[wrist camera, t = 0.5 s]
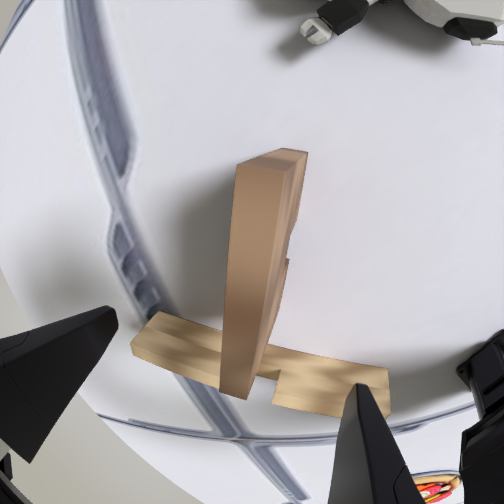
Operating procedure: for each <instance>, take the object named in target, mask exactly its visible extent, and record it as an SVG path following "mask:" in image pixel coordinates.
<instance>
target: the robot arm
mask: <svg viewBox="0 0 504 504" xmlns="http://www.w3.org/2000/svg"><path fill="white" fill-rule="evenodd" d="M118 325H119V324H118V319H117V315H116V311H115V309H114V308H112V307H110V306H107V305H105V306H102V307H99V308H96V309H93V310H90V311H87V312H84V313H81V314H78V315H75V316H72V317H69V318H66V319H63V320H60V321H57V322H54V323H51V324H48V325H45V326H42V327H38V328H35V329H32V330H31V331H26V332H23V333H20V334H17V335H13V336H9V337H6V338H1V339H0V504H32V503H31V502H30V501H29V500H28V499H27V498H26V497H25V496H24V495H23V494H22V493H21V492H20V491H19V490H18V489H17V488H16V487H15V486H14V485H13V484H12V483H11V482H10V481H11V479H12V478H13V476H12V467H11V457H10V454H9V453H8V451H9V450H10V449H12V450H14V451H15V452H16V453H17V454H18V455H19V456H21V457H22V458H23V459H24V460H26V461H27V462H28V463H29V464H30V463H31V462H32V460H33V458H34V457H35V455H36V453H37V452H38V450H39V449H40V447H41V445H42V444H43V442H44V441H45V439H46V437H47V436H48V434H49V433H50V431H51V429H52V428H53V426H54V425H55V423H56V422H57V420H58V419H59V417H60V416H61V414H62V413H63V411H64V409H65V408H66V407H67V405H68V404H69V402H70V401H71V399H72V398H73V397H74V395H75V394H76V392H77V391H78V389H79V388H80V387H81V385H82V384H83V382H84V381H85V379H86V378H87V377H88V375H89V374H90V372H91V371H92V370H93V368H94V367H95V366H96V364H97V363H98V361H99V360H100V358H101V357H102V355H103V354H104V352H105V350H106V348H107V347H108V345H109V343H110V342H111V340H112V338H113V337H114V335H115V333H116V332H117V330H118ZM456 372H457V375H458V376H459V377H460V378H461V379H462V380H463V381H464V382H465V384H466V385H467V386H468V387H469V388H470V389H471V390H472V393H473V397H474V401H475V404H476V408H477V412H478V416H479V420H480V421H479V422H477V423H476V424H475V425H473V426H472V427H470V428H469V429H466V430H465V431H463V432H462V441H461V455H460V464H459V474H460V476H461V479H462V482H463V486H464V504H504V331H502V332H501V333H500V334H499V335H498V336H497V337H496V338H494V339H493V340H492V341H491V342H490V343H489V344H487V345H486V346H485V347H484V348H482V349H481V350H480V351H479V352H477V353H476V354H475V355H474V356H472V357H471V358H470V359H468V360H467V361H466V362H464V363H463V364H462V365H460V366H459V367H458V368H457V369H456ZM405 464H406V463H405V461H404V459H403V457H402V454H401V452H400V450H399V448H398V446H397V444H396V442H395V439H394V437H393V435H392V433H391V431H390V429H389V427H388V425H387V423H386V421H385V419H384V417H383V415H382V413H381V410H380V408H379V406H378V404H377V402H376V400H375V398H374V396H373V394H372V392H371V390H370V389H369V387H368V385H367V384H363V383H355V384H354V385H353V387H352V389H351V390H350V392H349V394H348V395H347V397H346V400H345V404H344V409H343V414H342V419H341V423H340V428H339V432H338V437H337V442H336V450H335V459H334V466H333V473H332V480H331V487H330V493H329V499H328V504H427V503H426V502H425V500H424V498H423V497H422V495H421V493H420V491H419V490H418V488H417V486H416V484H415V482H414V480H413V478H412V476H411V474H410V472H409V469H408V467H407V465H405Z"/></svg>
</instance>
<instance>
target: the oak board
mask: <svg viewBox="0 0 504 504" xmlns="http://www.w3.org/2000/svg"><path fill="white" fill-rule="evenodd" d="M222 333H223V331H220V330H216V329H213V328H210V327H207V326H203V325H200V324H197V323H194V322H191V321H188V320H185V319H182V318H179V317H176V316H173V315H170V314H167V313H164V312H161V311H158V312H157V313H156V314H155V315H154V316H153V317H152V318H151V320H150V321H149V322H148V323H147V324H146V325H145V326H144V327H143V329H142V330H141V331H140V332H139V333H138V334H137V335H136V336H135V338H134V339H133V340H132V341H131V342H130V345H131V349H132V353H133V355H134V356H136V357H138V358H141V359H143V360H145V361H148V362H150V363H152V364H155V365H157V366H159V367H162V368H164V369H167V370H169V371H172V372H174V373H177V374H179V375H182V376H185V377H187V378H190V379H193V380H196V381H198V382H201V383H204V384H207V385H210V386H213V387H216V388H219V382H220V365H221V348H222ZM256 375H257V376H261V377H265V378H269V379H272V380H276V381H278V382H277V385H276V389H275V392H274V396H273V399H272V402H271V404H275V405H279V406H283V407H288V408H292V409H297V410H301V411H306V412H311V413H316V414H322V415H327V416H333V417H339V418H342V414H343V409H344V404H345V400H346V397H347V395H348V394H349V392H350V390H351V389H352V387H353V385H354V384H355V383H363V384H367V385H368V387H369V389H370V390H371V392H372V394H373V396H374V398H375V400H376V402H377V404H378V406H379V408H380V410H381V413H382V415H383V417H384V419H386V418H387V417H388V416H389V415H390V413H391V404H390V390H389V378H388V369H387V368H380V367H374V366H368V365H362V364H357V363H351V362H346V361H341V360H336V359H331V358H326V357H321V356H316V355H312V354H307V353H303V352H299V351H294V350H290V349H286V348H282V347H278V346H274V345H270V344H267V346H266V349H265V351H264V354H263V357H262V360H261V362H260V365H259V368H258V371H257V373H256Z"/></svg>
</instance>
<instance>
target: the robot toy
mask: <svg viewBox="0 0 504 504" xmlns="http://www.w3.org/2000/svg"><path fill="white" fill-rule="evenodd" d="M328 1H330V2H329V3H327V4H325V5H324V6H322V7H321V8H319V9H318V10H317V13H318V15H319V17H318V18H312V19H307V20H306V21H305V22H304V23H303V24H302V25H301V26H300V33H301V34H302V35H303V36H304V37H306V36H307V35H308V34H310V33H311V32H313V31H314V30H316V31H318V32H316V33H315V34H313V35H312V36H311V37H309V38H307V39H308V41H309V42H310V43H311V44H316V45H320V44H322V43H325V42H327V41H329V39H330V37H331V35H332V33H333V32H335V33H336V34H337V35H340V34H342V33H343V32H345V31H346V30H348V29H349V28H351V27H353V26H354V25H356V24H358V23H359V22H360V21H361V20H362V19H363V17H364V15H365V13H366V11H367V9H368V7H369V5H371V4H373V3H375V2H377V1H378V2H379V3H381V4H385V3H387V2H389V1H391V0H328ZM403 1H404V2H405V4H406V5H407V6H408V7H409V8H410V9H411V10H412V11H413V12H414V13H416V14H417V15H418V16H419V17H420V18H422V19H423V20H424V21H425V22H428V23H430V24H432V25H435V26H437V27H442V28H443V30H444V31H445V32H446V34H449V35H452V36H455V37H458V38H460V39H462V40H470V42H471V44H472V45H478V46H480V45H481V44H493V45H504V41H492V40H486V39H488V38H490V37H492V36H493V35H495V34H497V27H498V26H500V25H502V24H503V23H504V0H403Z"/></svg>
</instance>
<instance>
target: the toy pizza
mask: <svg viewBox="0 0 504 504" xmlns="http://www.w3.org/2000/svg"><path fill="white" fill-rule="evenodd" d="M411 476H412V478H413V480H414V482H415V484H416V486H417V488H418V490H419V491H420V493H421V495H422V497H423V498H424V500H425V502H426V503H427V504H431V503H434V502H438V501H440V500H442V499H444V498H446V497H448V496H449V495H451V494H452V491H453V490H454V489H456V488H457V487H458V486H459V485H460V484H461V483H462V479H461V476H460V474H459V472H457V471H434V472H426V473H419V474H413V475H411Z"/></svg>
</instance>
